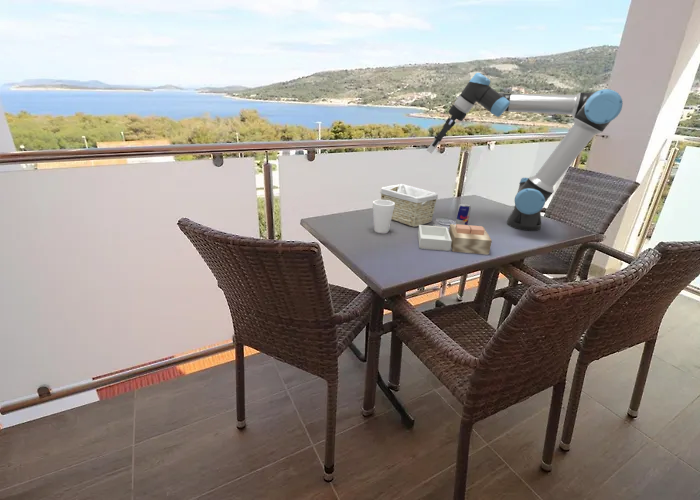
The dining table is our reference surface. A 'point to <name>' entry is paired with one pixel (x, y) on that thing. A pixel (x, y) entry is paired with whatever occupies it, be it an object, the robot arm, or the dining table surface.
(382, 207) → the foam cup
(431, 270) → the dining table surface
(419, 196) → the storage basket
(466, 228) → the tile
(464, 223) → the energy drink
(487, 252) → the tan wooden block
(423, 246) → the box
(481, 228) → the tile
